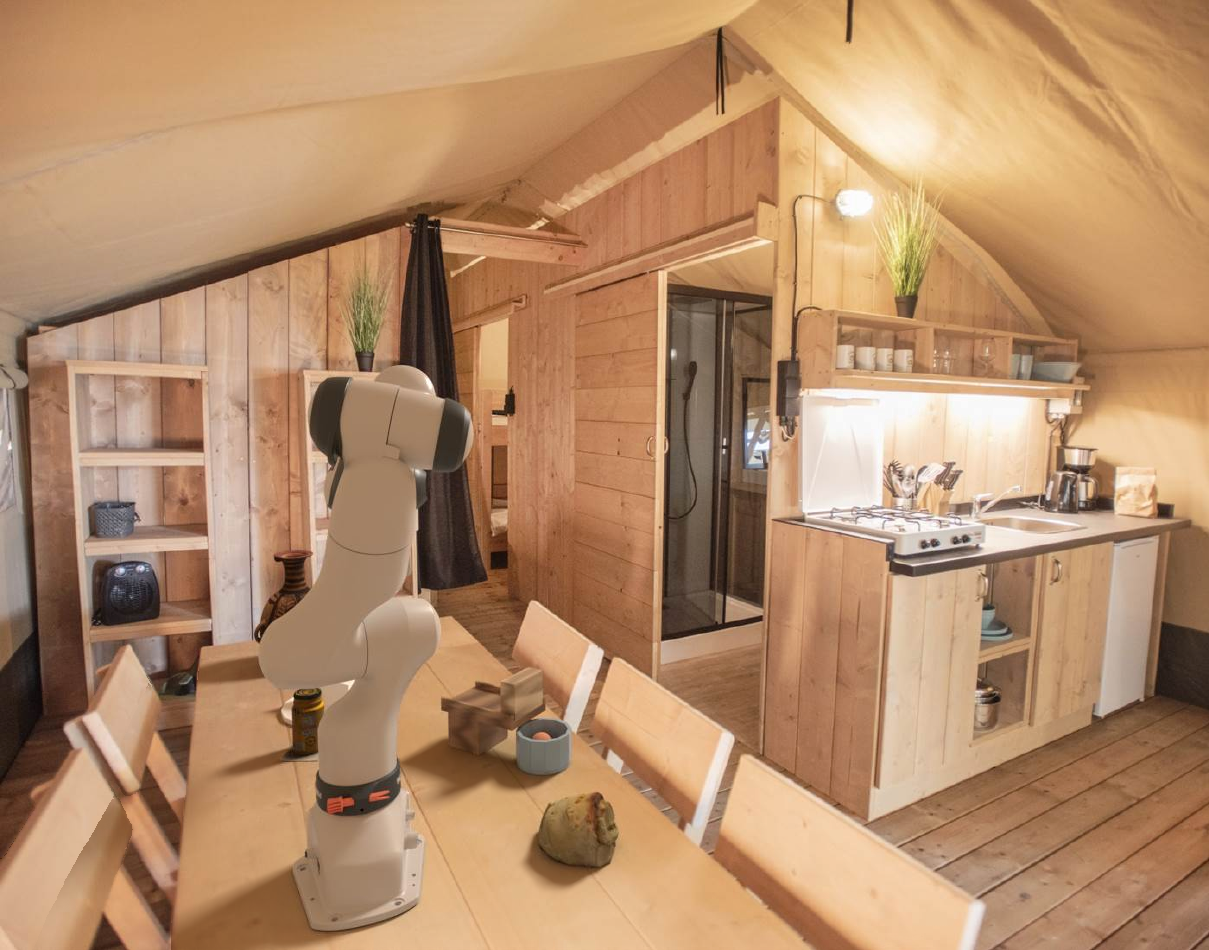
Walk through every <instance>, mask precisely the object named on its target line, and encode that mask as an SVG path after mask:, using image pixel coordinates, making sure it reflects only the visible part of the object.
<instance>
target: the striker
mask: <svg viewBox="0 0 1209 950" xmlns="http://www.w3.org/2000/svg"><path fill="white" fill-rule="evenodd" d="M543 675H544V670H543V669H539V668H535V667H531V666H528V667H526V668H523V669H522V670H520V671H518V672H516V673H514V674H512V675H509V676H508V677H506V678H504V679H502V680H500V683H499V684H500V685H499V686H500V695H501V712H502V713H505V714H509V715H513V716H514V720H517V719H519V718H520V717H522V716H524V715H525V714H527V713H529V712H531V711H532V710H534V709H536V708H537V707H539V706H541V705H542V704H543V697H544V676H543Z"/></svg>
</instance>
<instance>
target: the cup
mask: <svg viewBox="0 0 1209 950" xmlns="http://www.w3.org/2000/svg"><path fill="white" fill-rule="evenodd" d="M539 732H544V733H546V734H548V735H549V736H550V737H551V739H550V740H532V739H531V738H532V737H533V736H534V735H535V734H536V733H539ZM572 745H573V744H572V726H570V724H569V722H567V721H564V720H561V719H559V718H555V717H554V718H553V717H552V718H551V717H539V718H532V719H531V720H529V721H527V722H526V723H524V724H523V725H521V726H519V727H518V728H516V730H515V760H516V762H517V763H516V764H517V767H518V768H519V769H520V770H521V771H522V772H524V773H525V774H529V775H532V776H533V775H534V776H549V775H550V776H551V775H555V774H558V773H561V772H564V771H565V770H567V769H568V768H569V766H570V765H571V758H572V756H573V755H572V754H573V753H572V752H573V751H572Z"/></svg>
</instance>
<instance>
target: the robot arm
mask: <svg viewBox="0 0 1209 950" xmlns="http://www.w3.org/2000/svg"><path fill="white" fill-rule="evenodd" d="M308 404H309V405H308V408H307V423H308V428H309V429H308V430H309V436H310V438H311V441H313V443H314V446H315V447H316V449H317V450H319V452H321V453H322V454H323V455H324V456H326V457H327V463H328V464H329V465H330V468H329V469H328V471H327V474H326V476H325V480H324V483H323V495H324V500H325V502H326V505H327V508H329V509H330V510H331V511H330V515H329V523H328V529H327V537H326V543H325V548H324V549H325V550H324V555H323V558H322V565H321V569H320V571H319V574H318V576H317V578H316V580H315V582H314V583H313V585H312V587H310V588H311V589H310V591H309V592H308V593H307V594H306V596H305V597H304V598H303V599H302V600H301V601H300V602H299V603H298V604H297V605H296V606H295V607H294V608H292V609H291V610H290V611H289V612H287V613H286V614H284V615H283V616H282V617H280V618H278V619H277V620H275V621H273V622H272V623H271V624H270V625H269V626H268V628H267V629H266V631H265V632H264V634H263V636H262V638H261V641H260V644H259V646H258V649H257V650H258V652H257V653H258V655H257V657H258V663H259V664H258V665H259V667H260V670H261V672H262V675H264V677H265V679H266V681H268V682H269V684H271V685H272V686H274V687H275V688H277V689H278V690H281V691H282V690H299V689H315V688H320V687H324V686H329V685H333V684H338V683H342V682H347V681H352V680H355V681H354V683H353V685H352V687H351V688H350V689H349V691H348V692H347V693H346V694H345V695H344V696H343V697H342V698H341V699H339V700H338V701H337V702H335V703H334V704H333V705H332V706H330V707H329V708H328V709H327V711H326V712H325V713H324V715H323V717H322V719H321V721H320V723H319V726H318V760H317V761H318V770H317V771H316V775H315V782H314V789H315V799H316V801H315V802H314V804H313V805H312V806H311V807H310V808H309V809H308V810H307V812H306V819H305V820H306V822H305V824H306V849H305V851H304V856H302V857H300V858H299V859H297V860H296V861H295V862H294V863H293V864H292V875H293V878H294V881H295V885H296V887H297V890H298V893H299V896H300V899H301V902H302V905H303V909H304V911H305V914H306V916H307V921H308V923H309V926H310V928H311V929H312V930H316V931H326V932H327V931H329V932H330V931H341V930H342V931H343V930H348V929H355V928H358V927H363V926H367V925H371V924H374V923H378V922H382V921H385V920H388V919H390V918H393V917H395V916H397V915H400V914H402V913H404V912H406V911H408V910H410V909H411V908H412V907H414V906H415V905H417V904H418V903H419V902H420V899H421V890H422V879H423V871H424V870H423V867H424V859H425V848H426V840H425V836H424V835H423V834H422V833H421V834H420V833H419V832H418V830H415V828H411V827H412V825H411V821H414V820H415V819H414V817H415V810H414V809H411V802H410V799H411V797H410V792H409V791H408V790H406V789H405V788H403V787H402V780H401V779H402V769H401V768H402V767H400V766H401V763H400V759H399V757H397V756H398V755H397V754H398V750H397V749H398V747H397V745H398V743H397V742H398V723H399V720H398V719H399V713H400V709H401V705H402V702H403V699H404V697H405V694H406V691H407V689H408V688H409V685H410V684H411V683H412V681H413V679H414V677H415V676H416V675H417V673H418V672H419V670H420V669H421V668H422V667H423V666H424V665H425V664H426V662H427V661H429V660H430V659H431V658H432V657H433V656H434V654H435V653H436V651H437V650H438V647H439V645H440V641H441V638H442V637H441V636H442V625H441V624H442V623H441V620H440V617H439V614H438V612H437V611H436V609H435V608H434V606H433V605H432V604H431V603H430V602H429V601H427V600H426V599H425V598H421V597H408V596H407V597H406V596H405V597H404V596H395V595H396V594H397V593H398V592H400V591H402V590H403V588H404V587H403V585H404V583H405V581H406V578H407V577H409V576H411V575H412V553H411V551H412V546H413V539H414V535H415V532H418V531H419V508H421V507H422V506H423V505H424V503H426V501H427V500H428V497H427V490H426V489H427V488H426V482H427V472H426V471H427V470H431V471H432V473H453V472H456V470H458V469H459V468H461V467H462V465H463V463H464V461H465V460H466V459H467V457H468V455H469V454H470V452H471V450H472V447H473V443H474V438H475V437H474V436H475V435H474V434H475V432H474V424H473V421H472V414H471V412H470V411H469V409H467V407H466V406H465V405H463V404H462V403H459V402H458V401H456V400H454V399H451V398H449V397H446V398H441V397H439V396H437V393H436V391H435V387H434V384H433V382H432V381H431V379H430V377H428V375H427V374H425V373H424V372H423V371H421V370H420V369H418V368H416V367H415V366H414V367H413V366H412V365H411V366H410V365H403V364H400V365H397V364H396V365H393V366H390V367H387V368H385V369H384V370H382V371H381V372H379V373H378V375H377V376H376V377H375V378H374V380H365V379H364V380H362V379H354V378H353V377H352V376H331V377H330V376H329V377H326V378H325V379H324V380H323V381H321V382H320V383H319V384H318V386H317V388H316V390H315V391H314V393H313V394H312V397H311V398H310V401H309V403H308ZM425 470H426V471H425Z"/></svg>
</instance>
